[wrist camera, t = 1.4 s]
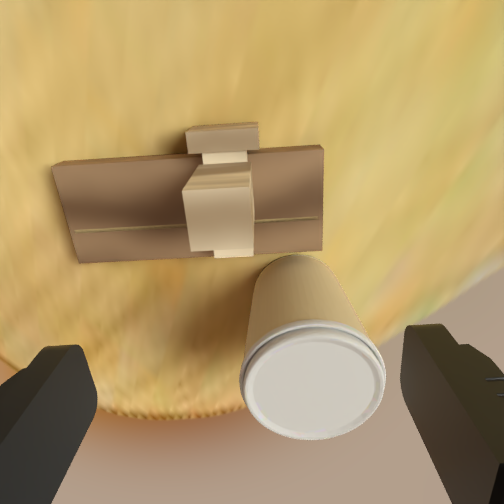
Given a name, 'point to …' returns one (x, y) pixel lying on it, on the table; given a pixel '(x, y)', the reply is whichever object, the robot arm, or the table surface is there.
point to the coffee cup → (308, 354)
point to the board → (172, 205)
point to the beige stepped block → (221, 189)
